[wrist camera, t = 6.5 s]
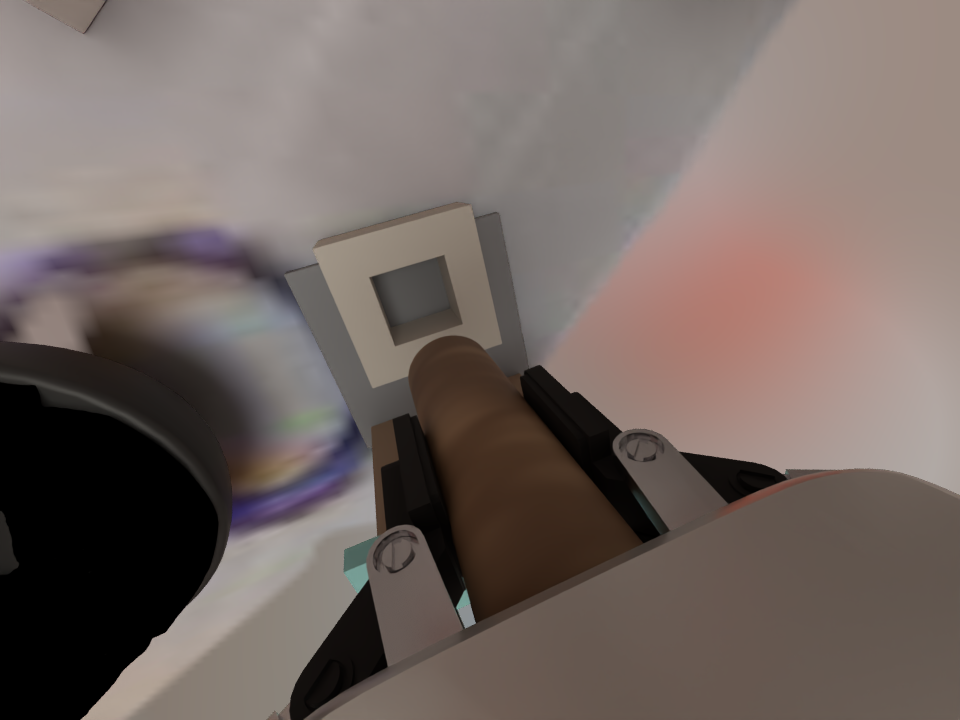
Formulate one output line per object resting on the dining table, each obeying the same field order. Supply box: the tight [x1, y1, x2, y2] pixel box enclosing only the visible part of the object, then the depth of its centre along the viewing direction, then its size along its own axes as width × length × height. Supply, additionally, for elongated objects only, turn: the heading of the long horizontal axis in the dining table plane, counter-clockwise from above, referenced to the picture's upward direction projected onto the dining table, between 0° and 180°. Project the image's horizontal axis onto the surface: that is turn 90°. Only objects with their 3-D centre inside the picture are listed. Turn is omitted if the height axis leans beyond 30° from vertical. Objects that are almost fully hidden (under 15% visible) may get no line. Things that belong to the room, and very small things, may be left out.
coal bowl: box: [0, 341, 232, 720], centre depth 19 cm, size 20×20×19 cm
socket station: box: [284, 202, 529, 610], centre depth 24 cm, size 16×18×17 cm
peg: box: [408, 335, 644, 623], centre depth 11 cm, size 4×4×12 cm
